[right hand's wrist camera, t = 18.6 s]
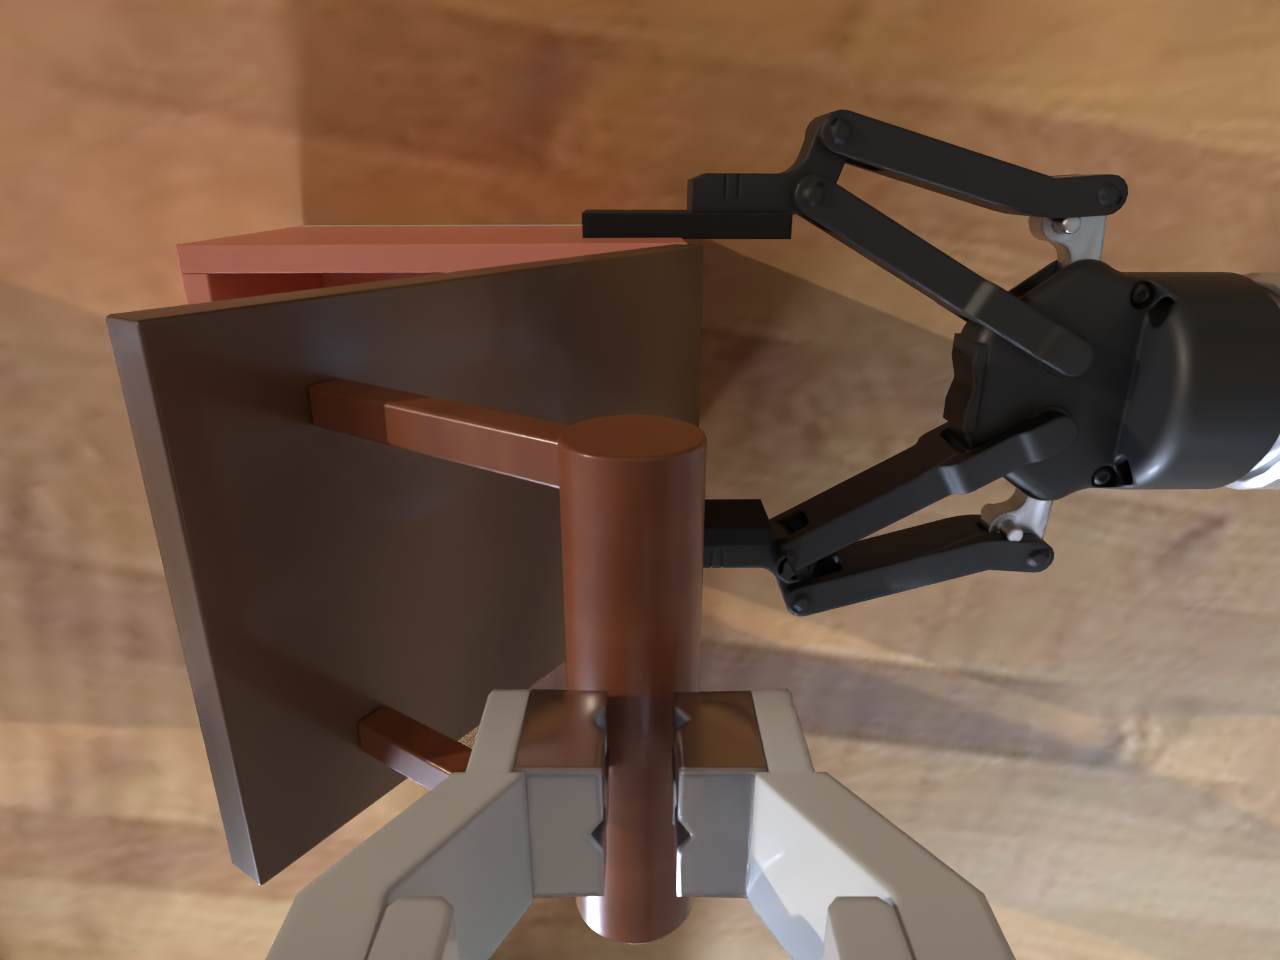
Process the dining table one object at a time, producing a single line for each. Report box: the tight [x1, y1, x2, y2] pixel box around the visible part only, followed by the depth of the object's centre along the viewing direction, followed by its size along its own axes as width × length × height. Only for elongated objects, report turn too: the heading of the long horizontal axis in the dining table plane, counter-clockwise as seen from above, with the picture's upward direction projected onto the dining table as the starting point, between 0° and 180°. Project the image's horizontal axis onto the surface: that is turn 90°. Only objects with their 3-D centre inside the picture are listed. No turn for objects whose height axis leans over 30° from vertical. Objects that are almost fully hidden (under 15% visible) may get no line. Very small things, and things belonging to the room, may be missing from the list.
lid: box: [106, 244, 707, 944], centre depth 17 cm, size 15×10×8 cm
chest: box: [175, 224, 688, 305], centre depth 29 cm, size 15×10×10 cm
